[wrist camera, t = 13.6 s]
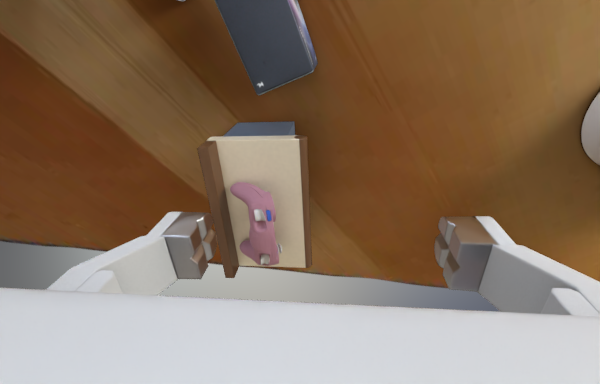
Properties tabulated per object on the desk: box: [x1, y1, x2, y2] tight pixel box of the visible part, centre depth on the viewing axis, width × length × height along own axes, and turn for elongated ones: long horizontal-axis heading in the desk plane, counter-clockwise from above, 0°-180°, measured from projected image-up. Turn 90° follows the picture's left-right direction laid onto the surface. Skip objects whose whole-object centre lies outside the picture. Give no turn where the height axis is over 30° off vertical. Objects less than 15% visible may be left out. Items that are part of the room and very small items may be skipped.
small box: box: [215, 0, 318, 95], centre depth 31 cm, size 11×6×10 cm, turn 22°
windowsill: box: [197, 122, 312, 278], centre depth 40 cm, size 11×18×12 cm, turn 2°
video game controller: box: [230, 182, 282, 266], centre depth 34 cm, size 10×5×7 cm, turn 2°
